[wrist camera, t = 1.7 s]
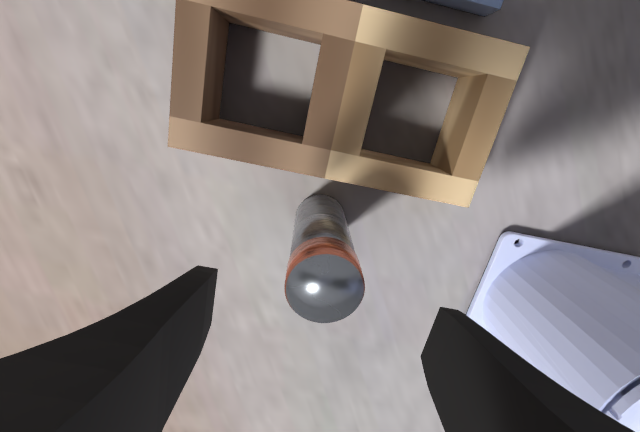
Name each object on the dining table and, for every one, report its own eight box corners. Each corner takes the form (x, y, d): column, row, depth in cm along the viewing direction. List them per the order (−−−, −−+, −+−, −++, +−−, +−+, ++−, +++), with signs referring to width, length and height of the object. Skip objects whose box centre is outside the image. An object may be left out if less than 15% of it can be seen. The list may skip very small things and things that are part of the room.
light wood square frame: (491, 55, 16) (530, 47, 13) (444, 190, 18) (468, 207, 16) (353, 21, 15) (363, 4, 13) (322, 165, 18) (324, 178, 15)
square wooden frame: (353, 21, 15) (363, 4, 13) (322, 165, 18) (324, 178, 15) (203, -17, 15) (178, -43, 12) (191, 138, 17) (167, 146, 14)
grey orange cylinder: (350, 199, 18) (374, 262, 11) (338, 245, 19) (354, 329, 12) (299, 189, 18) (292, 247, 11) (290, 236, 19) (277, 317, 12)
